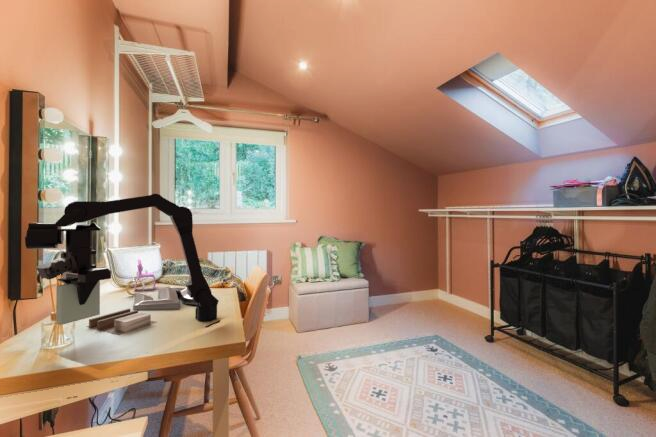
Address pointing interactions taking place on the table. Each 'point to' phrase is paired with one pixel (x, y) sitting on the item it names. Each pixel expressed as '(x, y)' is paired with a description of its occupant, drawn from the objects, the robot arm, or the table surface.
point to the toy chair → (143, 274)
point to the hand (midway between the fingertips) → (79, 304)
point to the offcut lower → (132, 326)
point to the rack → (111, 321)
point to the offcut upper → (132, 319)
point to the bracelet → (132, 282)
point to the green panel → (75, 304)
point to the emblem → (163, 299)
